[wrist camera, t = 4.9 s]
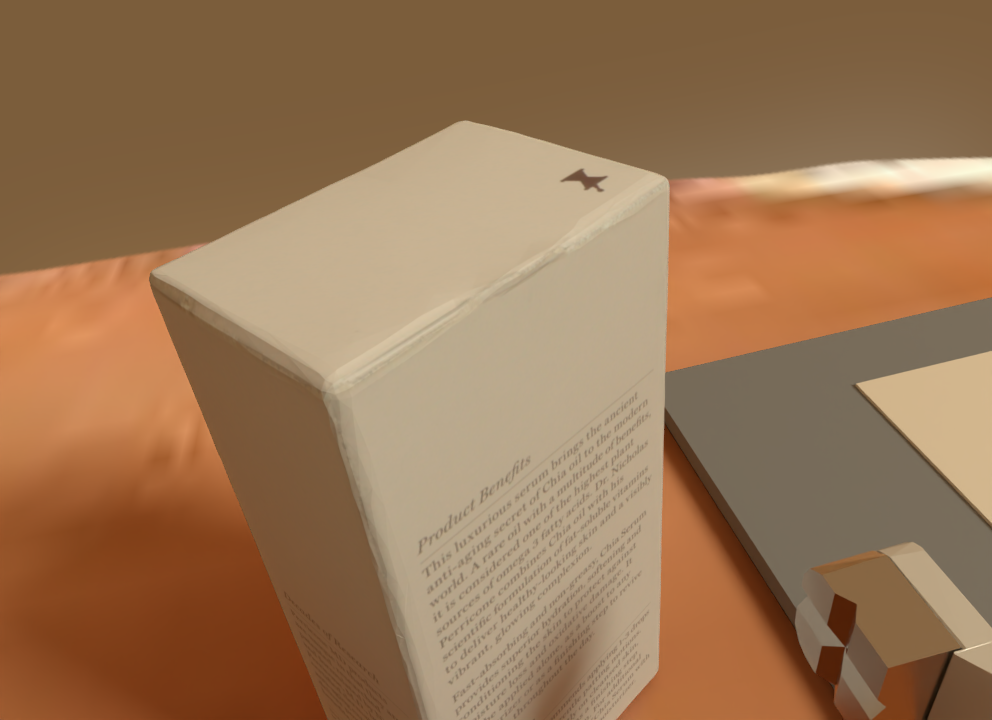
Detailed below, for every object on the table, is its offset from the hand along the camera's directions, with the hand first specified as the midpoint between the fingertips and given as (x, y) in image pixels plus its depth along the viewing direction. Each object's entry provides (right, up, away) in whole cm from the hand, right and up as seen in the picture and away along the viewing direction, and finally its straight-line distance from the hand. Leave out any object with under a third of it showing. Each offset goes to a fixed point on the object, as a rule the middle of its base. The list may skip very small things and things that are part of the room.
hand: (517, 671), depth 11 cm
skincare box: (0, -4, +7) cm, 8 cm away
